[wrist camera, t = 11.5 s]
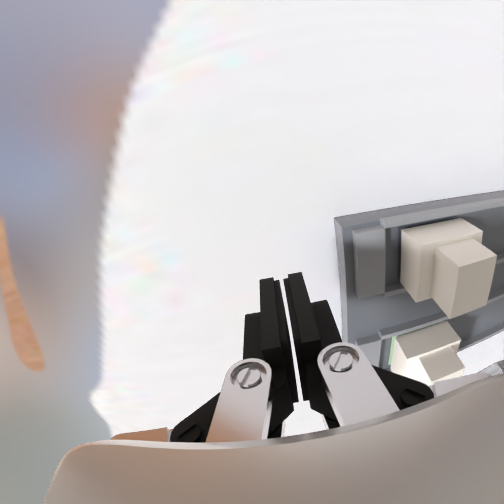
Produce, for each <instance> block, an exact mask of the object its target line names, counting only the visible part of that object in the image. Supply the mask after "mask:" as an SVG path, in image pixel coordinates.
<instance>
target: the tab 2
mask: <svg viewBox="0 0 504 504" xmlns="http://www.w3.org/2000/svg"><path fill="white" fill-rule="evenodd" d="M460 341H461V339H460V337H459V336H458V335H457V333H456V332H455V331H454V329H453V328H452V327H451V325H450V324H449V323H448V322H447V321H444V322H441V323H439V324H436V325H433V326H430V327H427V328H424V329H420V330H417V331H414V332H411V333H408V334H404V335H401V336H397V337H395V341H394V348H393V355H392V361H391V367H390V369H391V371H392V372H393V373H396V374H399V375H402V376H405V377H408V378H411V379H414V380H417V381H420V382H422V383H424V384H426V385H428V386H430V385H433V383H434V382H436V381H442V380H447V379H452V378H457V377H462V374H463V372H464V369H465V367H464V365H463V363H462V362H461V360H460V359H459V357H458V356H457V351H458V348H459V344H460Z"/></svg>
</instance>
